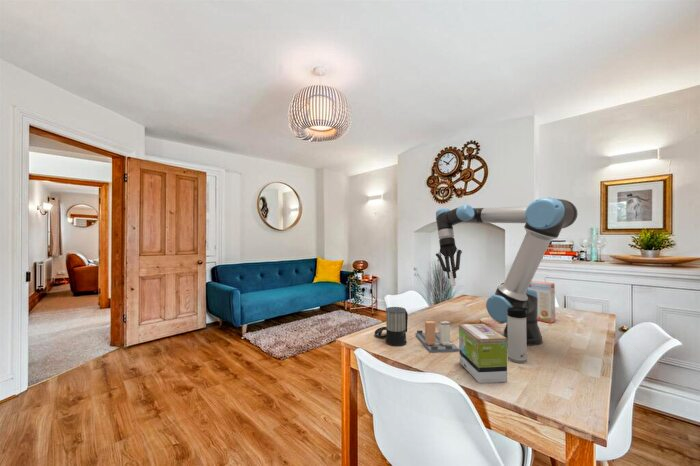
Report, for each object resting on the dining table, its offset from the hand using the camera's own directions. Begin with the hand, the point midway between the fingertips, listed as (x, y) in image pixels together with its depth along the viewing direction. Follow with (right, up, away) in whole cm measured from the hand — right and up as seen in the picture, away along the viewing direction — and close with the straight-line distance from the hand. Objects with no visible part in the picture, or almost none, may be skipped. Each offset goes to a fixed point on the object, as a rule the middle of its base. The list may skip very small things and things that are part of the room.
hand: (453, 285), depth 142 cm
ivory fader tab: (-10, -21, -19) cm, 30 cm away
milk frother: (-32, -23, -9) cm, 41 cm away
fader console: (-13, -23, -14) cm, 30 cm away
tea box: (-5, -23, -41) cm, 47 cm away
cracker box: (+54, -23, +19) cm, 62 cm away
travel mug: (+13, -23, -32) cm, 41 cm away
